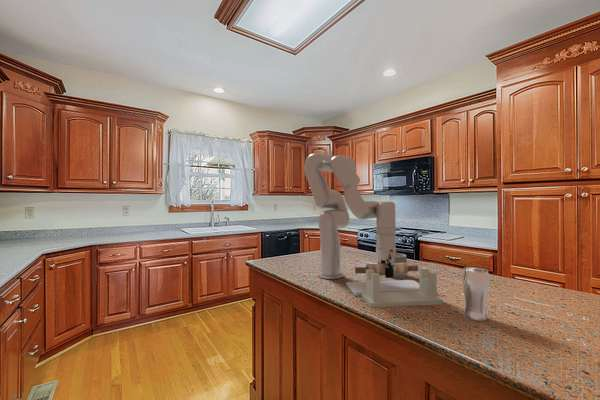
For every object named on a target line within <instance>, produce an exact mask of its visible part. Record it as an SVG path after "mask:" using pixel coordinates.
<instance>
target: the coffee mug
mask: <svg viewBox="0 0 600 400" xmlns="http://www.w3.org/2000/svg"><path fill="white" fill-rule="evenodd" d="M407 258H408V257H407V254H405V253H400V252H396V259H395V263H406V264H407V263H408V262H407ZM388 260H390V259H388ZM388 263H389V262H388ZM377 264H380V259H379V258H378V260H377ZM407 275H408V273H407V274H406V275H393V278H392V279H397V280H401V279H402V280H403V279H406V278H407Z"/></svg>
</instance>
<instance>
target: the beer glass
mask: <svg viewBox="0 0 600 400" xmlns="http://www.w3.org/2000/svg"><path fill="white" fill-rule="evenodd" d="M462 289H463V294H464V299H465V310H464V317H465V318H466V319H468V320H471V321H475V322H486V321H488V315H487V309H486V308H487V301H488V296H489V291H490V277H489V270H487V269H485V268H481V267H475V266H472V267H471V266H469V267H467V266H466V267H463V273H462Z"/></svg>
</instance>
